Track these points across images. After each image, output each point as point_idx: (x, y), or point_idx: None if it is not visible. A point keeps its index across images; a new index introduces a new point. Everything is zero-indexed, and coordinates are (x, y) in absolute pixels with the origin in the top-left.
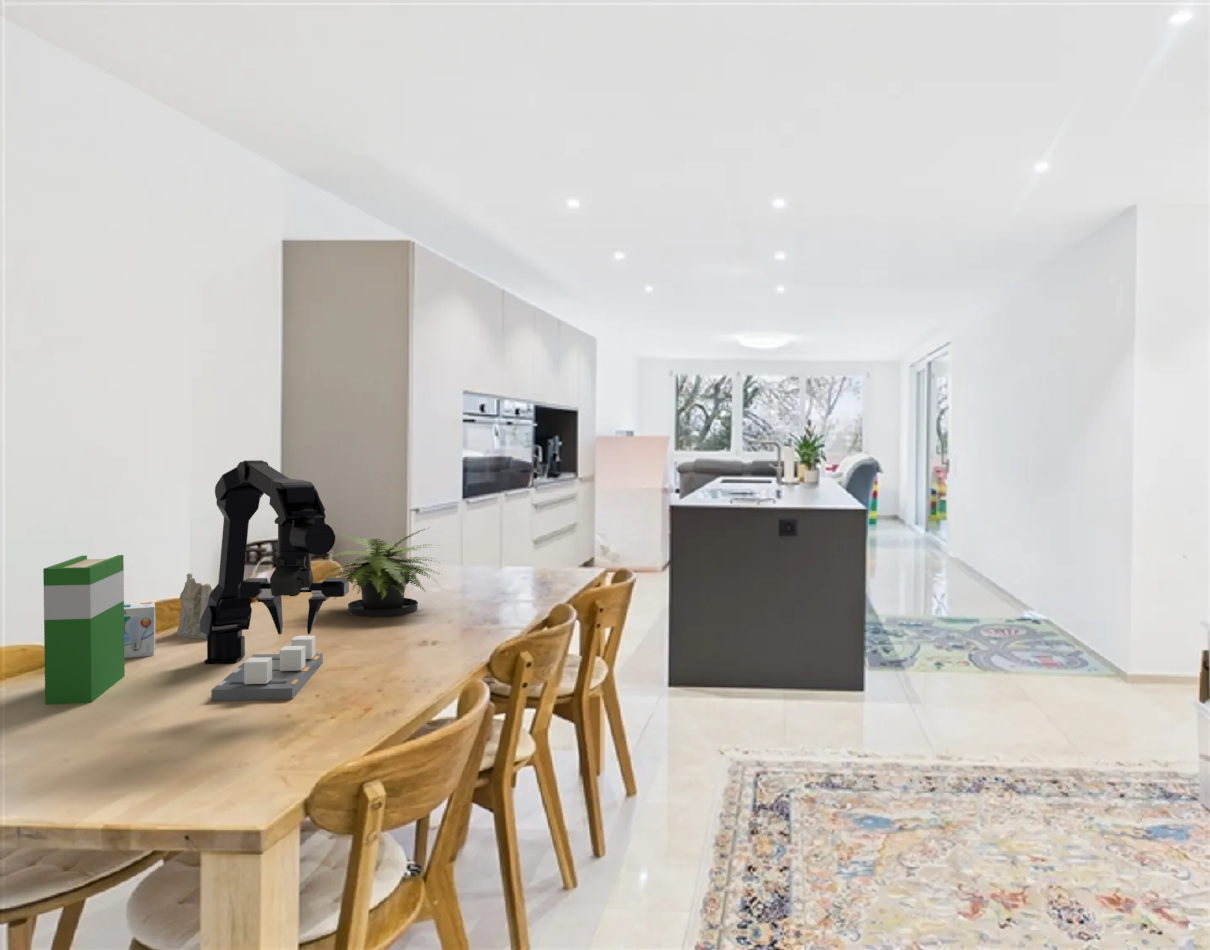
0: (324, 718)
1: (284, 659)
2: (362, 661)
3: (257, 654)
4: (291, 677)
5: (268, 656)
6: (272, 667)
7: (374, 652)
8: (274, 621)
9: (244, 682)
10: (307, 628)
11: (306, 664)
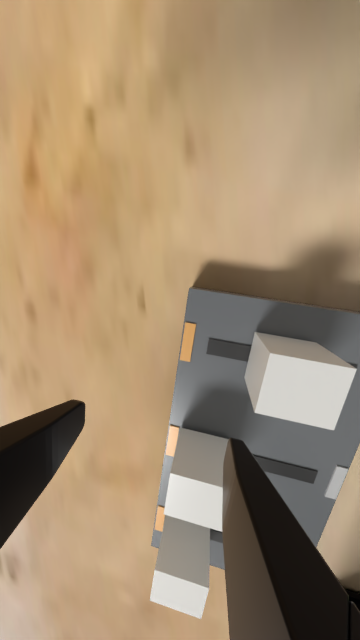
0: (107, 110)
1: (219, 460)
2: (89, 505)
3: None
4: (199, 385)
5: None
6: None
7: (77, 549)
8: (300, 533)
9: (317, 343)
10: (60, 416)
11: None
